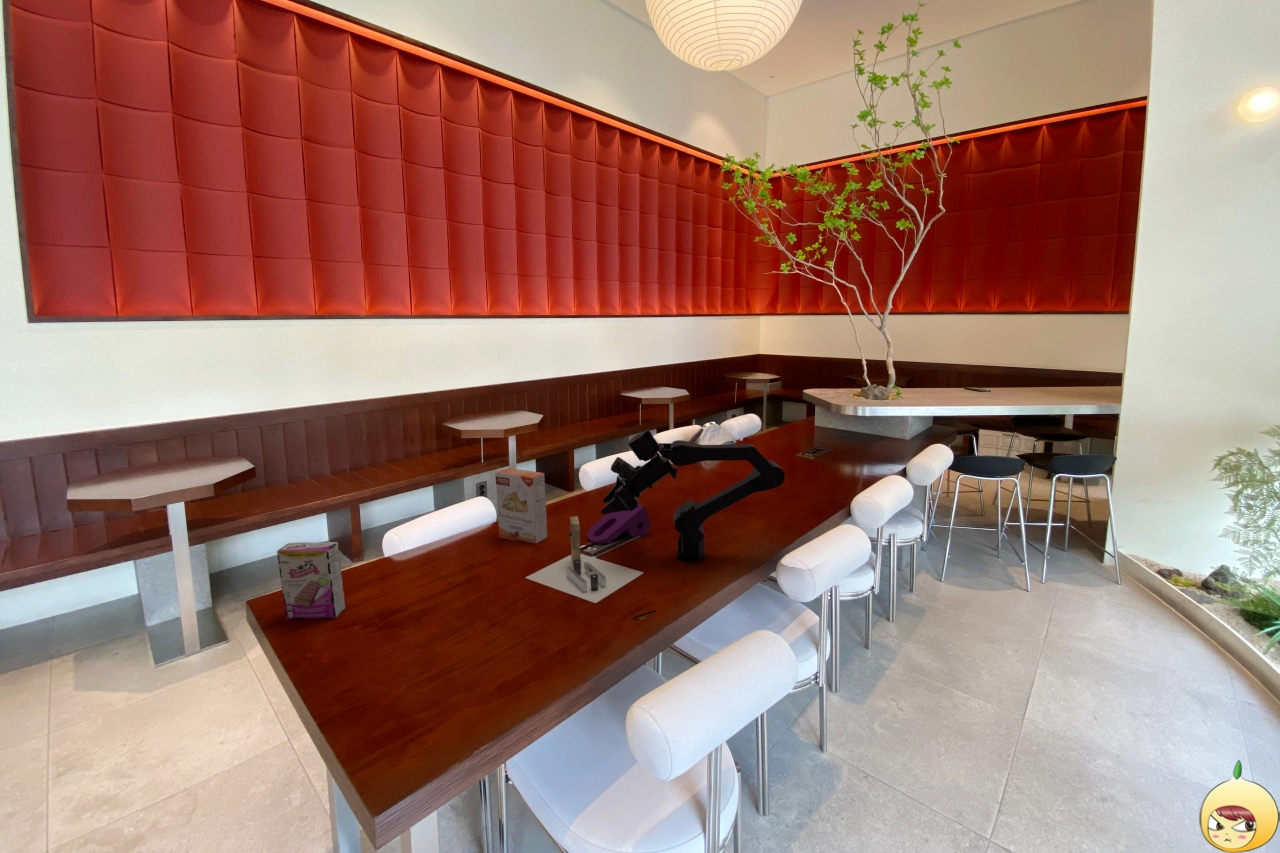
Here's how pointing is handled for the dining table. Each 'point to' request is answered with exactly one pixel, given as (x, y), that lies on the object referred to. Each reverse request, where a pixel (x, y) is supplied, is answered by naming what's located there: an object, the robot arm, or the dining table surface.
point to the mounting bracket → (620, 525)
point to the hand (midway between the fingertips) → (602, 507)
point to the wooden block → (574, 538)
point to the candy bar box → (311, 580)
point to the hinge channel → (594, 574)
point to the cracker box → (521, 505)
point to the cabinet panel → (585, 577)
